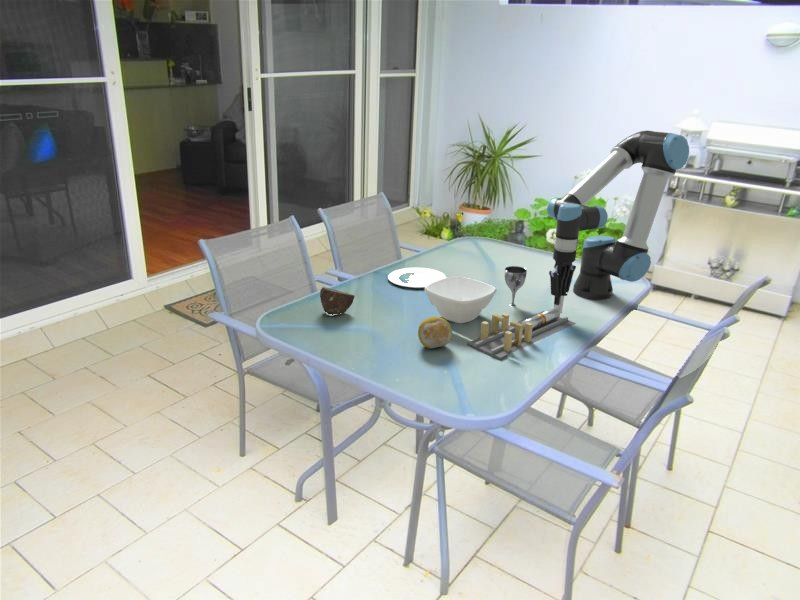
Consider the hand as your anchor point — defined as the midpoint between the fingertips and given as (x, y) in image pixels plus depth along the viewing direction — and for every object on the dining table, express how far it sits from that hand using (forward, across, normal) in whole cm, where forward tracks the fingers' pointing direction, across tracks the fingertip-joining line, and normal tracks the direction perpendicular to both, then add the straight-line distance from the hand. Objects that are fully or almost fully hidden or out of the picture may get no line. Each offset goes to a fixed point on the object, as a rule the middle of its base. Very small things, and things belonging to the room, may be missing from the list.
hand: (557, 312), depth 214 cm
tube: (+2, +10, 0) cm, 11 cm away
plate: (+4, +10, -63) cm, 64 cm away
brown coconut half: (+4, +58, -56) cm, 81 cm away
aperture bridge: (+3, +29, 0) cm, 29 cm away
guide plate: (+3, +19, 0) cm, 19 cm away
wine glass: (+3, +3, -18) cm, 18 cm away
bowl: (+3, +26, -24) cm, 35 cm away
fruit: (+4, +49, -13) cm, 51 cm away
